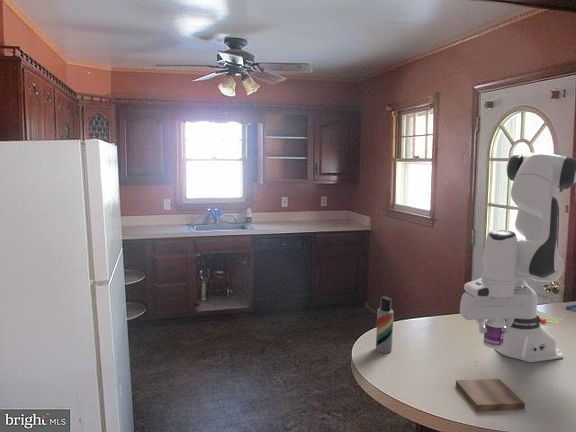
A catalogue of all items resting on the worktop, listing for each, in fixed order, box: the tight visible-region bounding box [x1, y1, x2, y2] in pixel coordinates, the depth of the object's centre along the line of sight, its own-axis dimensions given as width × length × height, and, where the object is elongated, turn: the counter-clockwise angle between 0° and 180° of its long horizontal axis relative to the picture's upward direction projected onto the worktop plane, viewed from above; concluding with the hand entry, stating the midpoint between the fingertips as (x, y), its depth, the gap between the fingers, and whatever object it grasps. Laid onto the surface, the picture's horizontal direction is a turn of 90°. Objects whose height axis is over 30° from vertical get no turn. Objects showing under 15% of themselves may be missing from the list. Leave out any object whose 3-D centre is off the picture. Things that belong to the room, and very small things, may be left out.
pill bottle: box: [483, 316, 505, 350], centre depth 139 cm, size 5×5×10 cm
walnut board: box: [455, 378, 526, 413], centre depth 142 cm, size 14×14×2 cm
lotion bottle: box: [375, 296, 395, 354], centre depth 172 cm, size 6×6×20 cm
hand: (493, 332), depth 139 cm, fingers closed on pill bottle, 5 cm apart
